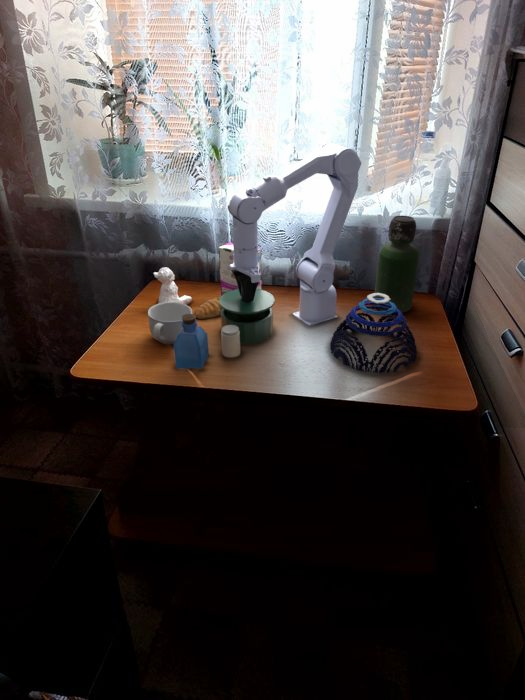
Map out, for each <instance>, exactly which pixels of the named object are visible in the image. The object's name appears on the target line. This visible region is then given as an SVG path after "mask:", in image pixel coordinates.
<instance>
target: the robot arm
mask: <svg viewBox="0 0 525 700" xmlns="http://www.w3.org/2000/svg"><path fill="white" fill-rule="evenodd" d="M361 166H362V161H361V159H360V156H359V155H358V153H357V151H356V150H355V149H353V148H349V147H344V146H341V145H338V144H335V143H334V142H329V141H327V142H324V143H323V144H321V145H320V146H318V147H316V148H314V149H312V152H311V153H310V154H309V155H307V156H306V157H305V158H303V159H302V160H300V161H299V162H298V163H296V164H295V165H293V166H292V167H291V168H289V169H288V170H286V171H285V172H283V173H282V174H281V175H279V176H278V175H275V174H271V175H269V174H266V175H265V176H263V177H262V179H263V180H262V181H260V182H259V183H257V184H256V185H255V184H254V186H252V187H247V188H246V189H245V192H237V193H235V194H233V195H232V197H231V199H230V200H229V204H228V205H227V210H228V212H229V214H230V215H231V217H232V241H233V242H232V244H233V246H234V254H233V264H230V265H229V268H230V269H231V271H232V272H233V274H234V276H235V279H236V281H237V285H238V289H239V293H240V296H241V287H242V291H243V297H244V300H245V302H251V301H253V300H254V297H255V292H256V289H257V286H258V284H259V282H260V281H261V280H262V279H263V277H262V274H261V275H260V273H259V263H258V249H259V244H258V243H259V240H258V238H259V235H258V233H259V231H258V229H259V228H258V222H259V220H260V218H261V217H262V214H263V212H264V211H265V210H268V209H269V208H270V207H272V206H274V205H275V204H277V203H278V202H280V201H281V200H283V199H285V198H286V196H287V192H288V190H290V189H291V188H293V187H294V186H296V185H299V184H301V183H302V182H304V181H306V180H307V179H309V178H311V177H313V176H314V175H316V174H319V175H327V177H328V179H329V181H330V183H331V185H332V191H331V194H330V196H329V199H328V202H327V205H326V208H325V211H324V213H323V215H322V219H321V222H320V224H319V228H318V230H317V232H316V236H315V238H314V241H313V243H312V244H313V245H312V246H311V248H310V249H308V250H307V251H305V252H304V254H303V256H302V258H301V260H299V262H298V263H297V265H296V267H295V275H296V277H297V278H298V279H299V306H298V311H296V312H293V313H292V315H294V317H296V318H297V319H298V320H301V321H302V322H303V323H304V324H305V325H308V326H312V325H315V324H319V323H322V322H325V321H328V320H331V319H335V318H338V315H336V313H337V299H338V296H337V290H336V288H335V285H333V283H334V279H335V278H334V272H335V269H336V264H335V260H334V257H333V255H334V253H335V249H336V247H337V244H338V242H339V239H340V236H341V233H342V231H343V229H344V225H345V222H346V221H347V218H348V215H349V212H350V209H351V207H352V204H353V201H354V198H355V196H356V193H357V191H358V187H359V171H360V169H361ZM265 212H266V211H265ZM241 297H242V296H241Z"/></svg>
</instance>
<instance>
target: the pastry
mask: <svg viewBox="0 0 525 700" xmlns="http://www.w3.org/2000/svg"><path fill="white" fill-rule="evenodd" d="M219 299H220V296H217V297H216V298H213V299H207V300H205V301H204V302H203V303H202V304H200V305H199V306H197V307H196V308H195V309H194V311H193V312H194V313H193V314H194V315H195V316H196V318H197V319H201V320H203V319H210V318H212V319H213V318H217V317H219V316H220V317H221V310H222V309H223V308H222V307H221V306H220V304H219Z"/></svg>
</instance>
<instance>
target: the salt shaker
mask: <svg viewBox="0 0 525 700" xmlns="http://www.w3.org/2000/svg"><path fill="white" fill-rule="evenodd" d="M220 338H221V340H220V341H221V342H220V343H221V354H222V356H224V357H226V358H235V357H238V356H240V355H241V343H240V331H239V328H238V327H237V326H235V325H226V326H224V327H223V328H222V327H221V331H220Z"/></svg>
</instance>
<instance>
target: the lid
mask: <svg viewBox="0 0 525 700" xmlns="http://www.w3.org/2000/svg"><path fill="white" fill-rule="evenodd" d="M241 296H242V297H241ZM241 296H240V293H239V289H236V290H232V291H229V292H227V293H225V294H223V295H222V296H221V295H220V296H219V298H220V299H219V304H220V306H221V307H222V308H223V309H224V310H226V311H229V312H232V313H237V314H255V313H260V312H263V311H266V310H268V309H270V308H272V307H273V306H274V305H275V302H276V301H275V299H276V298H275V297H274V295H273V294H271V293H270V292H269V291H267V290H263V289H262V290H260V289H256V292H255V297H254V300H253V301H251V302H245V300H244V297H243V291H242V287H241Z"/></svg>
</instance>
